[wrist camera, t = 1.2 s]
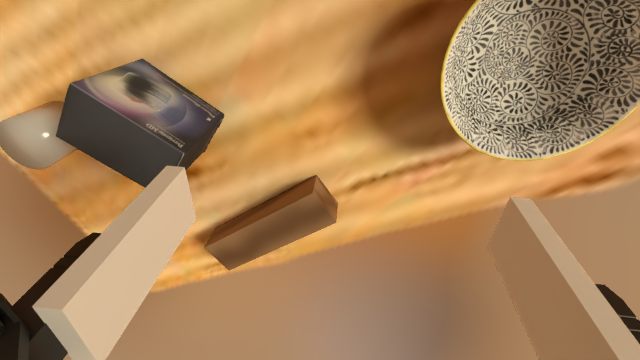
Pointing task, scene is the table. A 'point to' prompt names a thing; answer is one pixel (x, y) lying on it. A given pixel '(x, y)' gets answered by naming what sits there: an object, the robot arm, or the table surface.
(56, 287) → the robot arm
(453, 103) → the bowl
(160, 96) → the small box
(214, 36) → the table surface
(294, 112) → the table surface
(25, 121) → the beige rounded piece
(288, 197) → the walnut rail
